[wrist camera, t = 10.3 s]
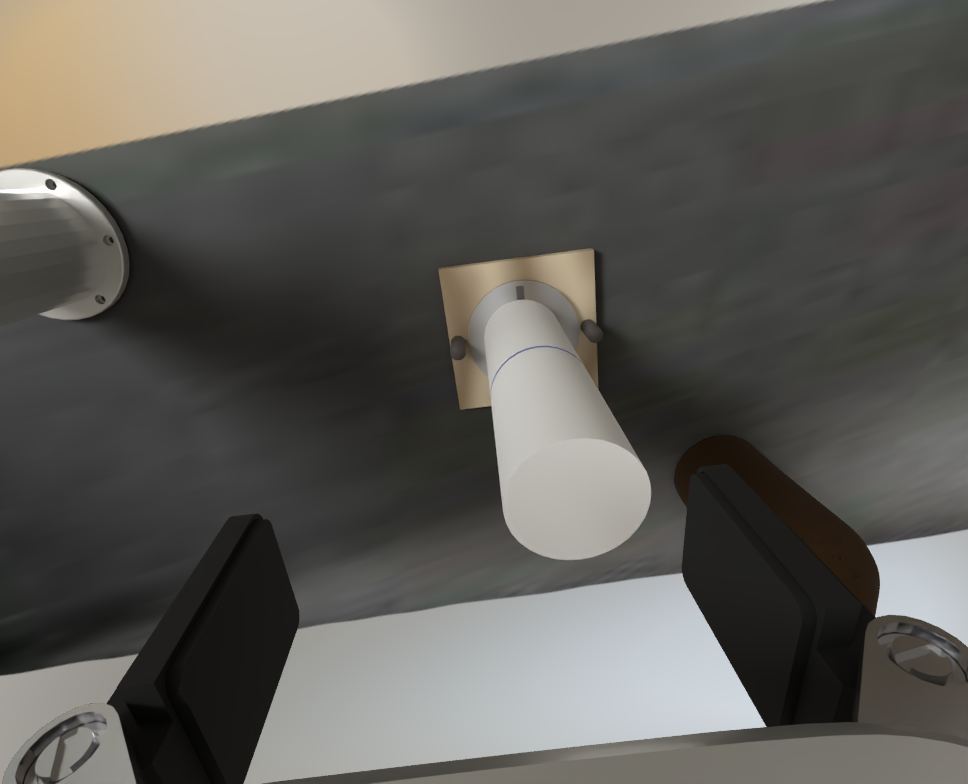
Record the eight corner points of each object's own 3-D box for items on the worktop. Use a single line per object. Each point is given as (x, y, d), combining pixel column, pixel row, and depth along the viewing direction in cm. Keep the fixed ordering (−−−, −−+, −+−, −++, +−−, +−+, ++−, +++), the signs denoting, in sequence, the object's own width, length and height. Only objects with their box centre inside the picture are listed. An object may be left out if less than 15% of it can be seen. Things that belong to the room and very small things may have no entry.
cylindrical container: (549, 288, 45) (635, 418, 22) (568, 359, 48) (663, 537, 25) (473, 314, 46) (482, 464, 23) (497, 381, 49) (526, 575, 26)
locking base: (460, 405, 51) (459, 423, 48) (438, 267, 46) (436, 275, 42) (596, 388, 51) (606, 405, 47) (591, 248, 46) (602, 254, 42)
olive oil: (648, 488, 56) (776, 703, 33) (708, 413, 53) (896, 595, 30) (721, 524, 59) (887, 748, 36) (783, 454, 55) (1011, 652, 32)
